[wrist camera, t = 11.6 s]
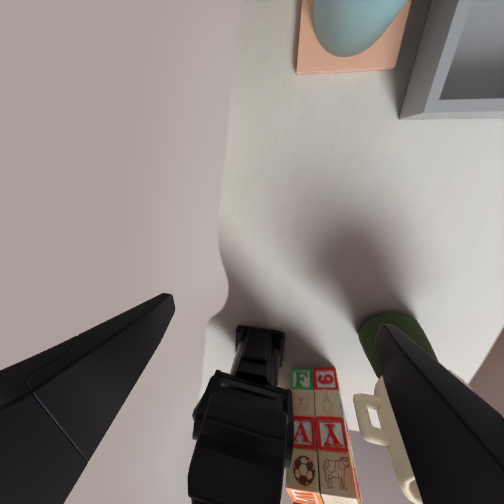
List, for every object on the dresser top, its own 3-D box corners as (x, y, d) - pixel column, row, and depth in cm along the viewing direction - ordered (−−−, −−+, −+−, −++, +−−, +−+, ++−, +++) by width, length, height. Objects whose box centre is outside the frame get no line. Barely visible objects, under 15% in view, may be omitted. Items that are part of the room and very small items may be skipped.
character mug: (331, 344, 26) (358, 494, 15) (341, 300, 23) (383, 447, 12) (429, 358, 24) (546, 543, 13) (454, 311, 21) (638, 503, 10)
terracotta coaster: (391, 69, 14) (395, 66, 14) (296, 74, 15) (296, 71, 15) (428, -82, 11) (434, -93, 11) (307, -63, 12) (307, -72, 12)
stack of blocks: (353, 448, 36) (376, 577, 25) (316, 445, 38) (323, 563, 27) (335, 366, 28) (358, 503, 17) (289, 367, 30) (284, 491, 19)
